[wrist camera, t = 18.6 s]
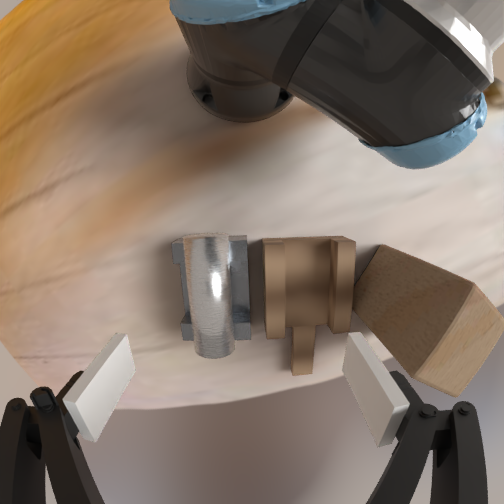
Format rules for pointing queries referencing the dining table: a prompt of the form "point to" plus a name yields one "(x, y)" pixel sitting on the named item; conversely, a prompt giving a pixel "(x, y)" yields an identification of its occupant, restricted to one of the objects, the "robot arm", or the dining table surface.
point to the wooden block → (427, 318)
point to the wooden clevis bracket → (307, 290)
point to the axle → (210, 293)
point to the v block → (238, 287)
